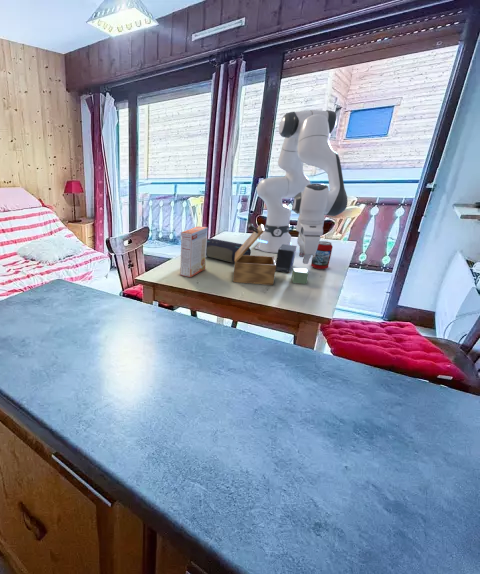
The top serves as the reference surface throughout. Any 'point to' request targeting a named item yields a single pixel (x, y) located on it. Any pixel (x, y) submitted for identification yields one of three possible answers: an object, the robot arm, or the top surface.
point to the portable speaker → (223, 250)
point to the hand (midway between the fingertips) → (303, 259)
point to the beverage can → (322, 255)
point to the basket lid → (249, 240)
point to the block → (299, 275)
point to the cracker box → (193, 251)
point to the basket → (255, 270)
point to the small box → (285, 258)
